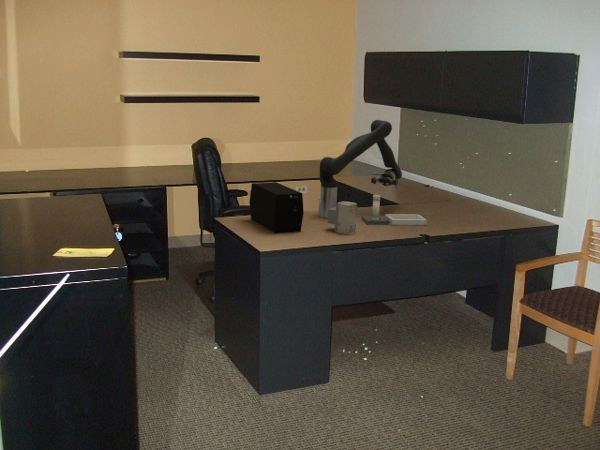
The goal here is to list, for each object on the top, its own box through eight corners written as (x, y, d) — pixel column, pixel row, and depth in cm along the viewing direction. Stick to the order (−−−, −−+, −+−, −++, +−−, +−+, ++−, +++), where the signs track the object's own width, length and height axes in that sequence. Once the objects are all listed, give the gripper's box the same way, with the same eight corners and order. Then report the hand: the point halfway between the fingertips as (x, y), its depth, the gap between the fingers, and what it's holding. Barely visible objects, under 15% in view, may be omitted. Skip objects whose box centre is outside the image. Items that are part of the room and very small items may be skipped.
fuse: (372, 222, 361) (374, 195, 358) (370, 221, 365) (372, 194, 362) (379, 222, 362) (381, 196, 359) (377, 221, 366) (379, 194, 362)
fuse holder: (367, 224, 357) (367, 221, 356) (361, 219, 368) (361, 215, 368) (388, 224, 359) (388, 221, 358) (382, 219, 370) (382, 216, 370)
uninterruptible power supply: (276, 217, 365) (277, 181, 360) (304, 232, 336) (305, 193, 331) (249, 219, 358) (249, 183, 353) (274, 234, 328) (276, 195, 324)
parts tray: (391, 225, 357) (392, 220, 357) (384, 219, 370) (385, 214, 370) (426, 225, 361) (426, 220, 360) (418, 219, 374) (418, 214, 373)
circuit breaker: (332, 227, 348) (333, 199, 345) (355, 231, 341) (357, 203, 337) (324, 229, 342) (325, 201, 339) (348, 234, 335) (350, 205, 331)
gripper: (375, 171, 385) (369, 175, 370) (400, 173, 381) (394, 177, 366) (375, 183, 387) (368, 188, 372) (399, 185, 383) (393, 190, 368)
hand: (381, 182), depth 369 cm, fingers open, 8 cm apart
